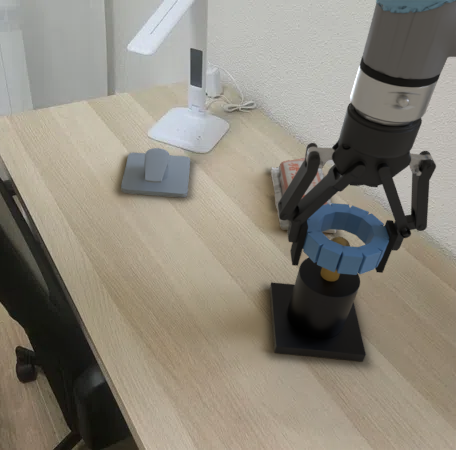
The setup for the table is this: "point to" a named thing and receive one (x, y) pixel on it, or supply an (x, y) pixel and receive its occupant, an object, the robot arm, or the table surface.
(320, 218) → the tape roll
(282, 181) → the packaged product
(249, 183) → the table surface
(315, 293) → the tape holder
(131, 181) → the shower valve
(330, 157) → the robot arm
